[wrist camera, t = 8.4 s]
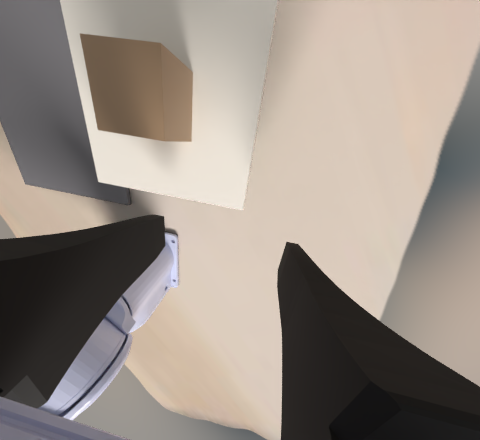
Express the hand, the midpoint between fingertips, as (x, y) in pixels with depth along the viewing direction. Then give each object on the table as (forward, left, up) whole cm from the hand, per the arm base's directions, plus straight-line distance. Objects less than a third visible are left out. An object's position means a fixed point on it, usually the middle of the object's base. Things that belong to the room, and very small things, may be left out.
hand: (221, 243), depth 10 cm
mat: (+5, +22, -10) cm, 25 cm away
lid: (+7, +6, -6) cm, 11 cm away
